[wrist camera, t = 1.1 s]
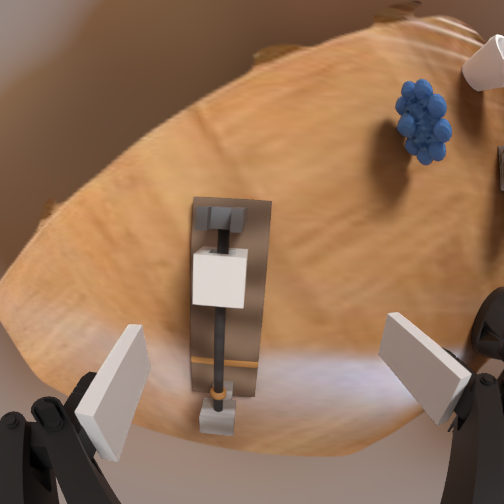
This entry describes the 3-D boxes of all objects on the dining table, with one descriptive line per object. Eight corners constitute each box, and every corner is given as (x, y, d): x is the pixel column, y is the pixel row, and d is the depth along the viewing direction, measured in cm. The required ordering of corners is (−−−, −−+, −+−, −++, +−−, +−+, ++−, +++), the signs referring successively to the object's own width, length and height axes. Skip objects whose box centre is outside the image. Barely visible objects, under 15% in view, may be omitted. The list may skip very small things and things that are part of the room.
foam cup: (473, 57, 30) (509, 37, 17) (493, 96, 31) (533, 82, 18) (448, 57, 30) (487, 32, 18) (471, 100, 32) (515, 83, 19)
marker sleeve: (203, 246, 31) (193, 254, 26) (248, 249, 31) (246, 257, 26) (201, 289, 31) (192, 304, 26) (245, 292, 31) (243, 308, 26)
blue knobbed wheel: (364, 100, 33) (400, 68, 21) (398, 94, 33) (439, 66, 21) (392, 174, 35) (440, 166, 23) (425, 164, 35) (475, 155, 23)
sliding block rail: (196, 196, 36) (163, 193, 23) (271, 201, 36) (280, 199, 23) (194, 385, 41) (176, 442, 28) (254, 391, 41) (254, 451, 28)
